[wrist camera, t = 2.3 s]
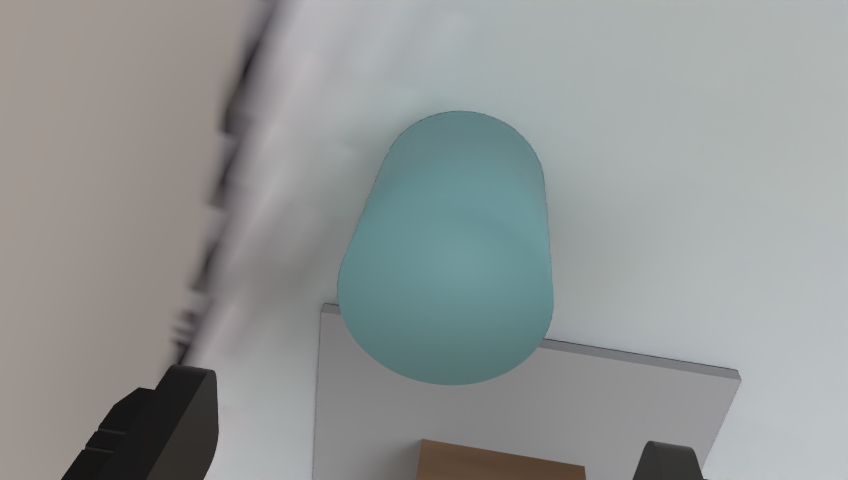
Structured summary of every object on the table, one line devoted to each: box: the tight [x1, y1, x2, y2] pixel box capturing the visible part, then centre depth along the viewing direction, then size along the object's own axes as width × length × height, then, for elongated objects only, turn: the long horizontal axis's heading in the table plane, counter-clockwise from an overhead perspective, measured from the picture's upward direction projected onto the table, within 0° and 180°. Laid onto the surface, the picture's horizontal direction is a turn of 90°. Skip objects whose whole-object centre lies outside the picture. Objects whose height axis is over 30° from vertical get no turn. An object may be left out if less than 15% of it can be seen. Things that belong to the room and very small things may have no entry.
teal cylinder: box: [337, 111, 553, 385], centre depth 19 cm, size 5×5×6 cm
